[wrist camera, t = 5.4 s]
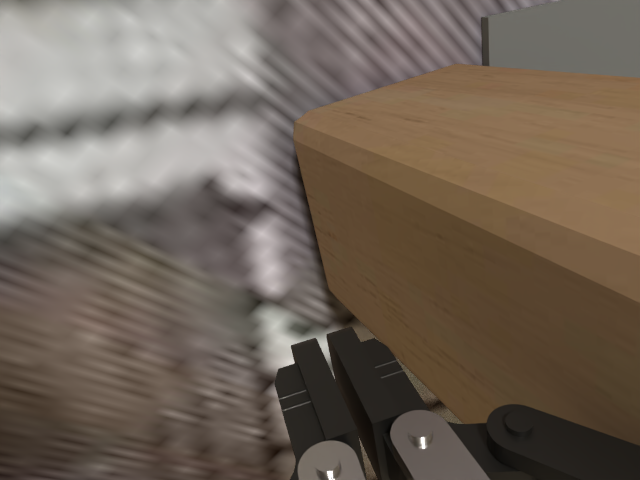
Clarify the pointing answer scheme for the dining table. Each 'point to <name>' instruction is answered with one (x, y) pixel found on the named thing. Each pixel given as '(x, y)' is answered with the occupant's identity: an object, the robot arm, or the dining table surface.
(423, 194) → the block
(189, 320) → the dining table surface
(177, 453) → the dining table surface
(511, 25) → the mat
